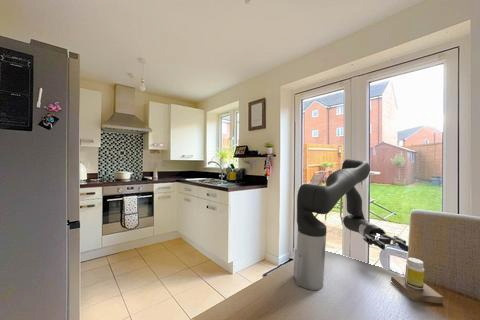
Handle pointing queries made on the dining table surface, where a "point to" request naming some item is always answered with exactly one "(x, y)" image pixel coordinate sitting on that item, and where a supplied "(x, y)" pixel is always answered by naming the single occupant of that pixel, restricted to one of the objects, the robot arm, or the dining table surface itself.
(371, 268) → the dining table surface
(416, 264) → the supplement bottle
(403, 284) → the block
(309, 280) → the robot arm
